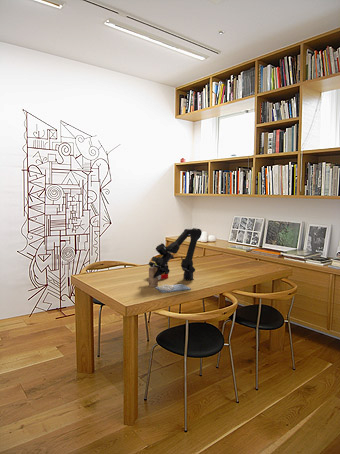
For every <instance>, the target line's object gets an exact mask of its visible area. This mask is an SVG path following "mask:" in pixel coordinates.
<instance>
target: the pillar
mask: <svg viewBox="0 0 340 454" xmlns="http://www.w3.org/2000/svg"><path fill="white" fill-rule="evenodd" d="M157 269H158V268H157V267H150V266H149V267H148V286H149V287H150V288H155V287H159V280H158V277H156V278H153V277H154V275H155V273H156V272H157Z"/></svg>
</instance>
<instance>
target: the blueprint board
mask: <svg viewBox="0 0 340 454" xmlns="http://www.w3.org/2000/svg"><path fill="white" fill-rule="evenodd" d="M154 288H155V290H157V291H159V292H161V293H162V294H163V293H164V294H166V292H167V293H172V292H174V291H175V292H181V291H189V290H192V289H191V287H189V286H187V285H186V284H183V283H179V284H178V283H177V284H171V285H170V284H162V285H161V286H157V287H154ZM175 292H174V293H175Z"/></svg>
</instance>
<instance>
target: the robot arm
mask: <svg viewBox="0 0 340 454" xmlns="http://www.w3.org/2000/svg"><path fill="white" fill-rule="evenodd" d="M202 232H203V231H202V229H200V228H196V227H193V228H191V229H190V228H185V229H184V230H183V231H182V233H181V234H180V235H179V236H178V238H176V239H175V241H173V242H171V243H170V244H169V245H167V246H166V245H165V244H164V243H163V242H162V243H160V244H158V245H156V248H155V251H156V252H157V253H158V254H159V256H158V257H156V256H152V257H151V260H150V261H149V262H148V266H149V267H157V268H158V269H157V272H156V273H155V275H154V277H153V278H156V277H158V276H160V275H162V274H164V272H165V273H167V274H168V275H169V273H170V272H171V271H170V269H169V267H168V268H167V266H165V265H168V266H169V262H170V260H172V259H173V260H174V259H175V258H174V255H175V254H177V253H178V251H179V250H180V247H181V245H182V244H183V243H184V242H185V241H186V239H187V238H188V237H190V240H189V243H188V248H187V252H186V256H185V258H182V259H181V263H180V267H181V269H182V271H183V277H182V279H183V280H185V281H193V280H194V281H195V278H194V273H195V272H196V268H195V267H194V262H193V258H194V254H195V250H196V246H197V243H198V240H199V239H200V238H201V237H202Z"/></svg>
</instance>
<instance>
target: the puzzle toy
mask: <svg viewBox="0 0 340 454" xmlns="http://www.w3.org/2000/svg"><path fill="white" fill-rule="evenodd" d="M165 266H167V268H168V269H169V264H168V265H165ZM168 278H169V273H168V274H167V273H165V272H164V274H162V275H160V276H158V281H159V280H163V279H168Z"/></svg>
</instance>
